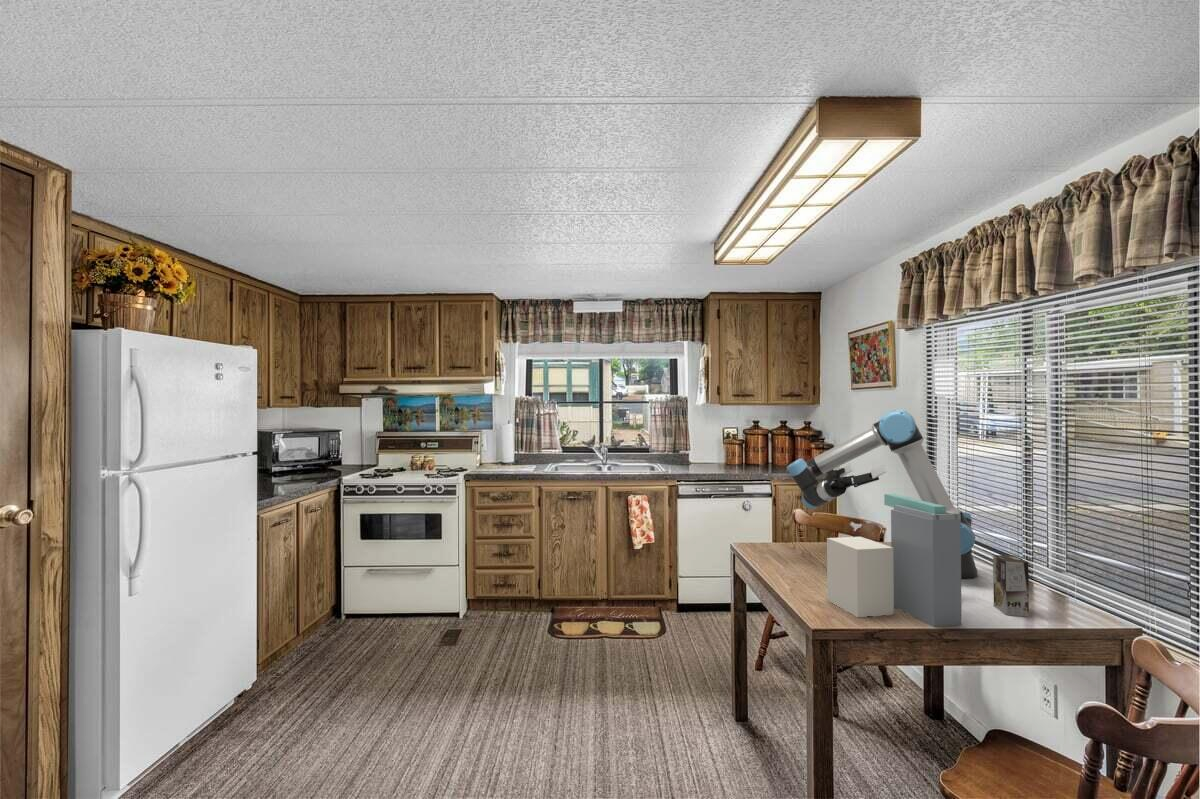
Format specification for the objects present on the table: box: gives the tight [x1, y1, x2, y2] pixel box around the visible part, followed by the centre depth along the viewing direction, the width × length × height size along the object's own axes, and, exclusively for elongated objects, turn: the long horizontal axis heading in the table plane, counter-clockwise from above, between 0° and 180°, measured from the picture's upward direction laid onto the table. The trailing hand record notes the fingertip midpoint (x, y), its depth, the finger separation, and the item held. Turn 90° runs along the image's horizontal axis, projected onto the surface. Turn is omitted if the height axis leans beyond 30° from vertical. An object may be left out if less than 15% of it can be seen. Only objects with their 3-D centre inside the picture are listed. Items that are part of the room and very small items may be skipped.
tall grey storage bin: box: [890, 505, 963, 628], centre depth 182 cm, size 9×18×32 cm, turn 11°
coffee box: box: [992, 554, 1030, 617], centre depth 185 cm, size 9×6×16 cm
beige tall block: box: [826, 536, 895, 618], centre depth 189 cm, size 12×16×20 cm
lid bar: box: [883, 493, 946, 514], centre depth 187 cm, size 4×26×4 cm, turn 6°
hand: (868, 467), depth 212 cm, fingers open, 13 cm apart
